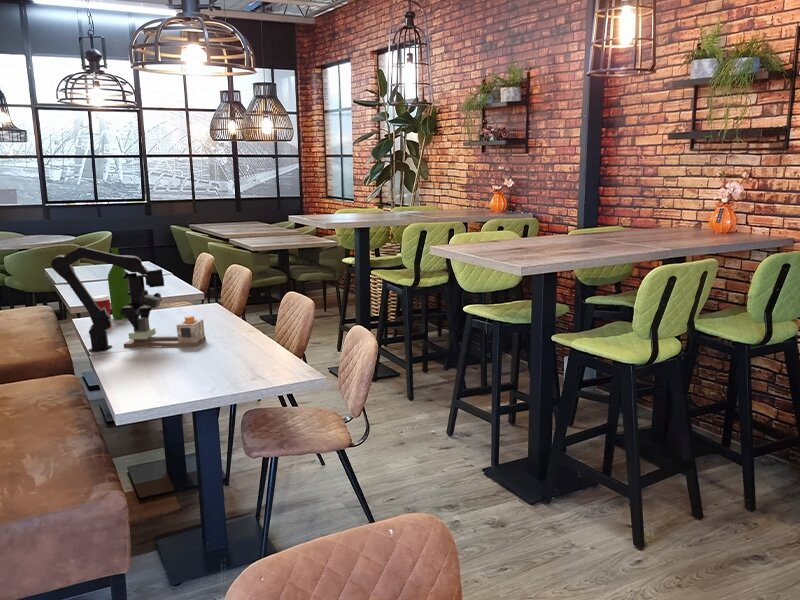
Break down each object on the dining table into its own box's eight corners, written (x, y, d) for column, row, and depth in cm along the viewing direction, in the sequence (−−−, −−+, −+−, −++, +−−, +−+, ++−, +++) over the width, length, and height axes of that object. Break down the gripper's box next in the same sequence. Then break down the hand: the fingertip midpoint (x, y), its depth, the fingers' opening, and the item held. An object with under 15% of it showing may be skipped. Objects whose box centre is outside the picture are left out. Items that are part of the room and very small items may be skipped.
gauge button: (193, 330, 260) (192, 318, 259) (184, 330, 260) (183, 318, 259) (197, 328, 263) (195, 316, 262) (188, 328, 264) (186, 316, 262)
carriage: (146, 339, 260) (144, 320, 258) (129, 339, 261) (126, 320, 259) (155, 333, 268) (153, 315, 266) (139, 334, 269) (136, 316, 267)
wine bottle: (137, 315, 318) (129, 247, 312) (124, 319, 310) (116, 249, 303) (121, 314, 321) (112, 247, 314) (108, 319, 312) (99, 249, 306)
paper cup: (117, 325, 299) (113, 294, 296) (108, 329, 291) (104, 298, 289) (100, 325, 300) (96, 294, 297) (91, 329, 292) (87, 298, 289)
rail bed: (195, 346, 257) (193, 325, 256) (123, 347, 261) (121, 326, 259) (205, 339, 267) (203, 319, 265) (136, 340, 270) (133, 320, 269)
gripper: (145, 293, 250) (150, 333, 254) (167, 284, 269) (171, 321, 272) (116, 293, 252) (122, 333, 255) (140, 284, 270) (145, 322, 273)
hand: (141, 327), depth 264 cm, fingers open, 7 cm apart
